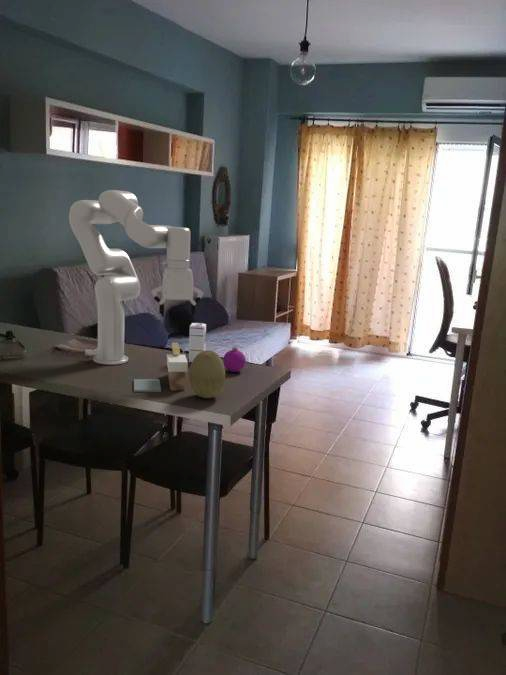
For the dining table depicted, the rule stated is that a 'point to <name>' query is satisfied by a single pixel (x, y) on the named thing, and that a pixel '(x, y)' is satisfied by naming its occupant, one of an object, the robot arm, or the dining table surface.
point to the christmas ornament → (234, 360)
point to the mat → (147, 385)
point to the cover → (177, 363)
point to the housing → (176, 380)
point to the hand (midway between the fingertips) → (177, 316)
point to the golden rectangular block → (175, 349)
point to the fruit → (207, 374)
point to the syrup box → (197, 339)
